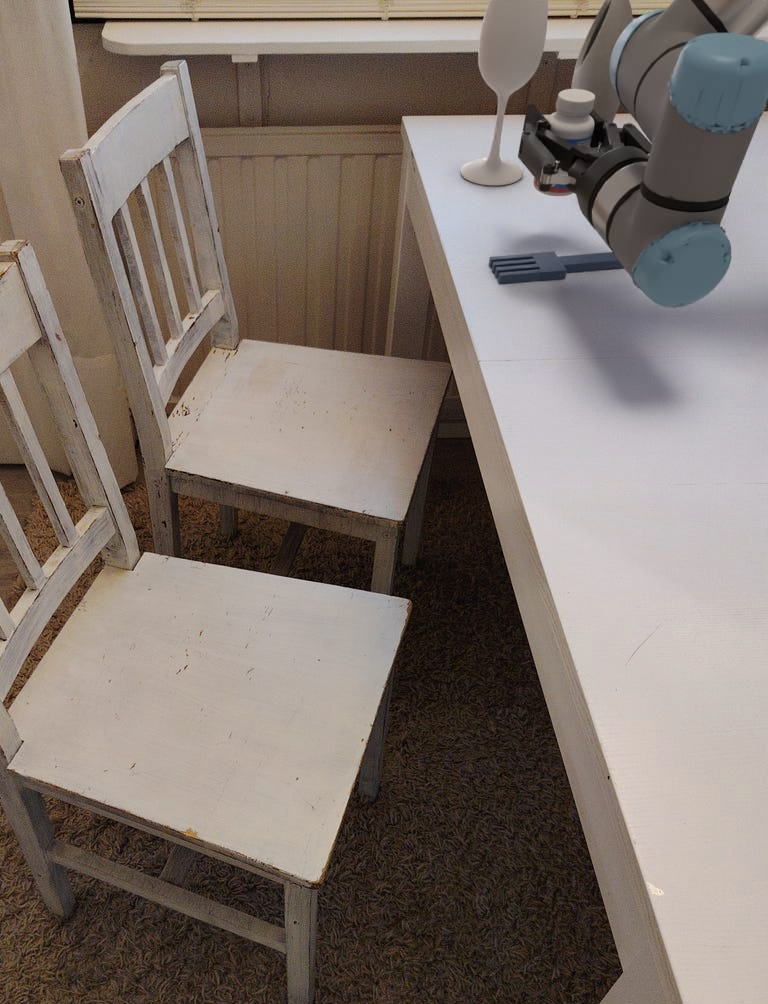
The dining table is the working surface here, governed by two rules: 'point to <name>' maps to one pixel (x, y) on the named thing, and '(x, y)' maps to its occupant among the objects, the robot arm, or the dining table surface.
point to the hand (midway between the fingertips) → (553, 115)
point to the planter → (602, 57)
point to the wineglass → (507, 72)
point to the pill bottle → (571, 125)
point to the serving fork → (548, 265)
